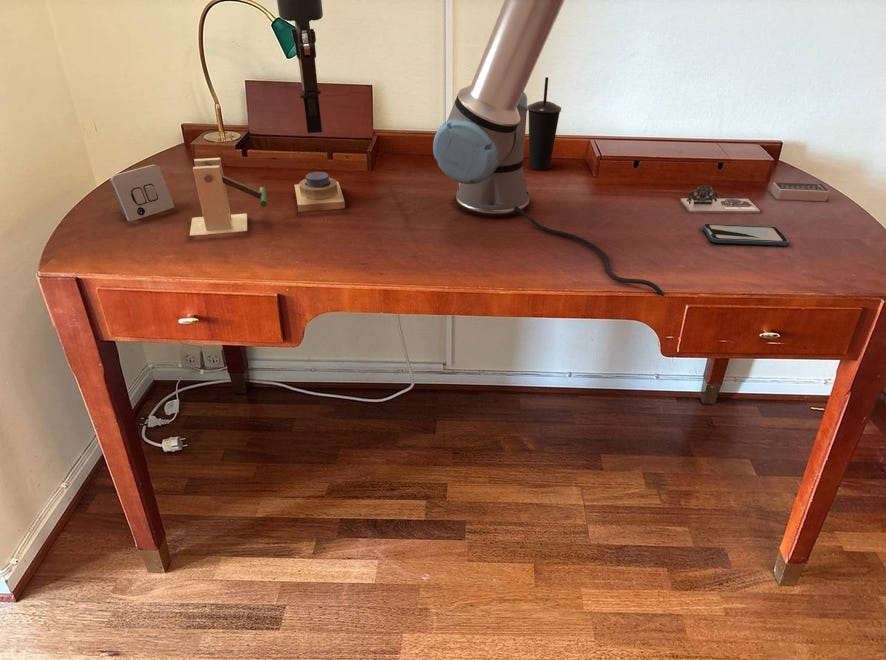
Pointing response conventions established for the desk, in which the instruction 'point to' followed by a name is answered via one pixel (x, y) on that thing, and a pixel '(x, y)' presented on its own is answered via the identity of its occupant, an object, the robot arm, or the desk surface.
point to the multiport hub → (799, 191)
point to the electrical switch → (141, 192)
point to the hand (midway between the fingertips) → (314, 131)
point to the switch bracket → (214, 202)
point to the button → (317, 179)
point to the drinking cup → (542, 131)
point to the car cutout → (716, 203)
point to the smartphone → (745, 234)
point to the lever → (245, 188)
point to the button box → (319, 196)
